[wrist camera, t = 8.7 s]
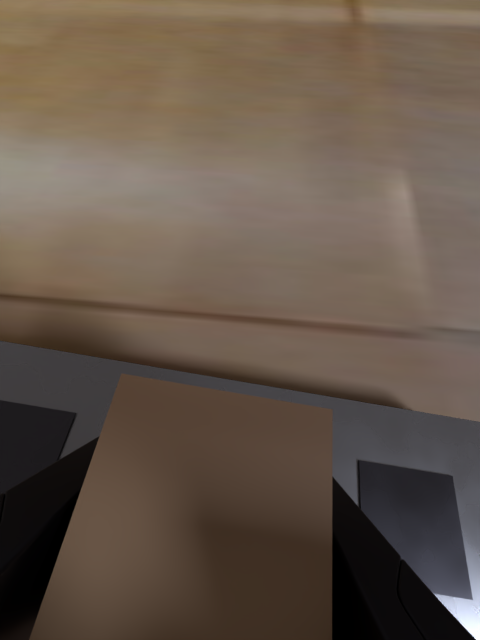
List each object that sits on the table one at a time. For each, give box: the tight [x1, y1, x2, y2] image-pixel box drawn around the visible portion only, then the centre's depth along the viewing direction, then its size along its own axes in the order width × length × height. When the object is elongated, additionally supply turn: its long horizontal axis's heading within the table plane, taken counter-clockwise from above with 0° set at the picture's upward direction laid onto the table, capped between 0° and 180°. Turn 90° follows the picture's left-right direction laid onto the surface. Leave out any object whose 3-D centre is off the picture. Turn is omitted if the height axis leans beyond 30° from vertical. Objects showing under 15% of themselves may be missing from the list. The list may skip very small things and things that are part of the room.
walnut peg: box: [29, 373, 333, 640], centre depth 9 cm, size 4×4×10 cm
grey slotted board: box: [0, 341, 480, 640], centre depth 13 cm, size 24×9×3 cm, turn 82°
